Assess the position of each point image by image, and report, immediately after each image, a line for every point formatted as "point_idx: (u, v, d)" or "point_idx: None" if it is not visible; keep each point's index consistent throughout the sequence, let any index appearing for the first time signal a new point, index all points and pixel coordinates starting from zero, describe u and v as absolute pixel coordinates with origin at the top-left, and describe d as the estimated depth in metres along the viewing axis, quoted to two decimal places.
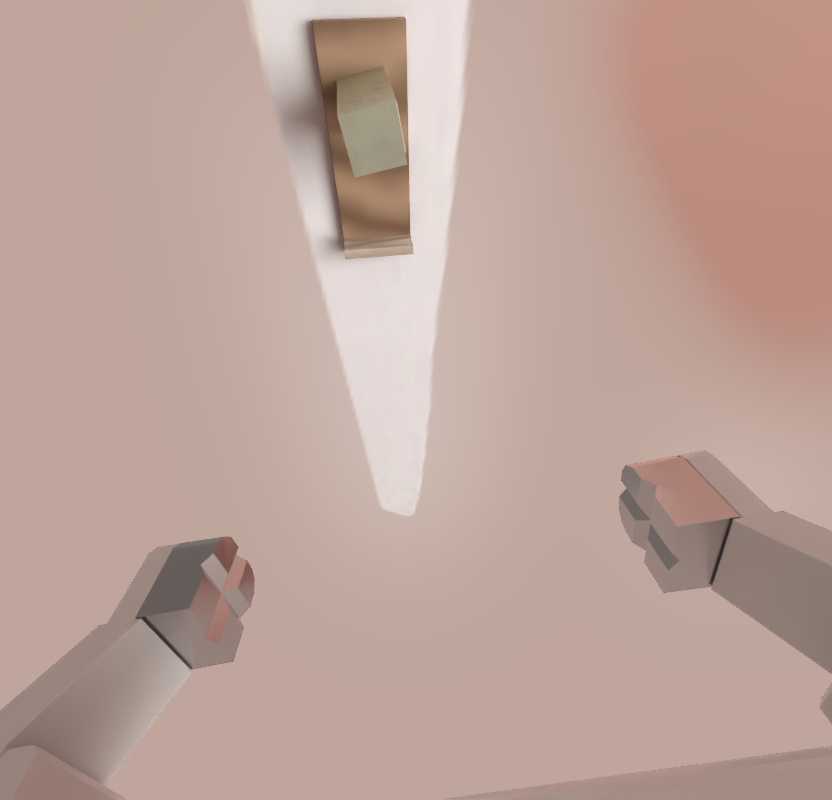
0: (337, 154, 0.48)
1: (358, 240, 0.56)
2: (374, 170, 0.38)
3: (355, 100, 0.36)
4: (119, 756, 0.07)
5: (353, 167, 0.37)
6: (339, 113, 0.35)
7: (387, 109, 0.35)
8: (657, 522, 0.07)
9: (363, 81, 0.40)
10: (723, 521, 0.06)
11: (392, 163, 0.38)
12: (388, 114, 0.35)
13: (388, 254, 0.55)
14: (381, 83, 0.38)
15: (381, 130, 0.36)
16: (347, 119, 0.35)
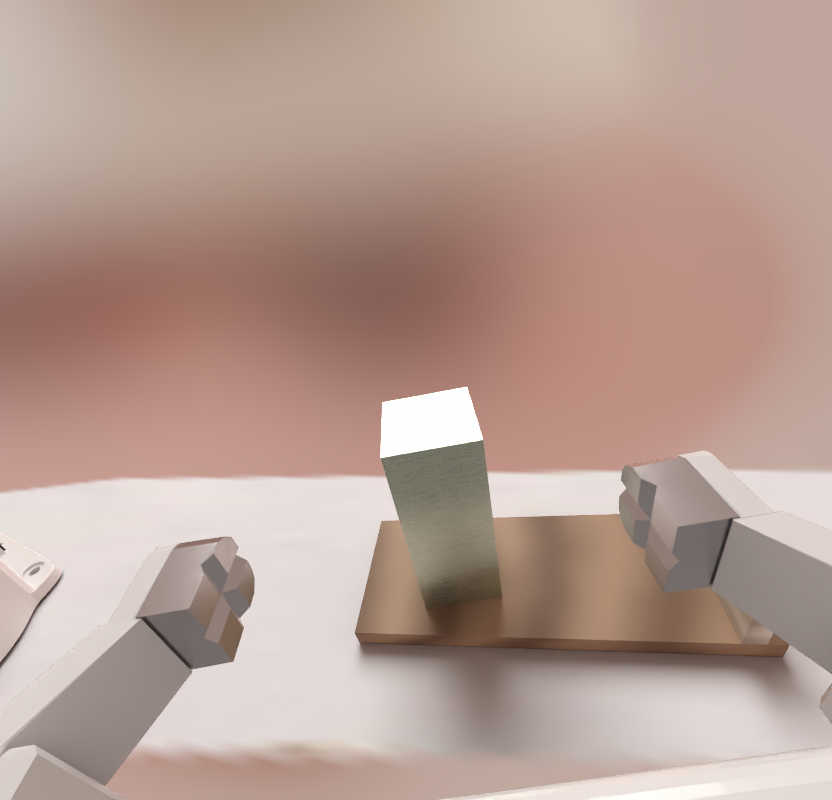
0: (539, 626, 0.25)
1: (726, 602, 0.23)
2: (472, 417, 0.21)
3: None
4: (119, 756, 0.07)
5: (464, 440, 0.20)
6: None
7: (390, 408, 0.24)
8: (656, 522, 0.07)
9: None
10: (723, 521, 0.06)
11: (463, 400, 0.23)
12: (396, 407, 0.24)
13: None
14: None
15: (414, 412, 0.23)
16: (390, 446, 0.21)
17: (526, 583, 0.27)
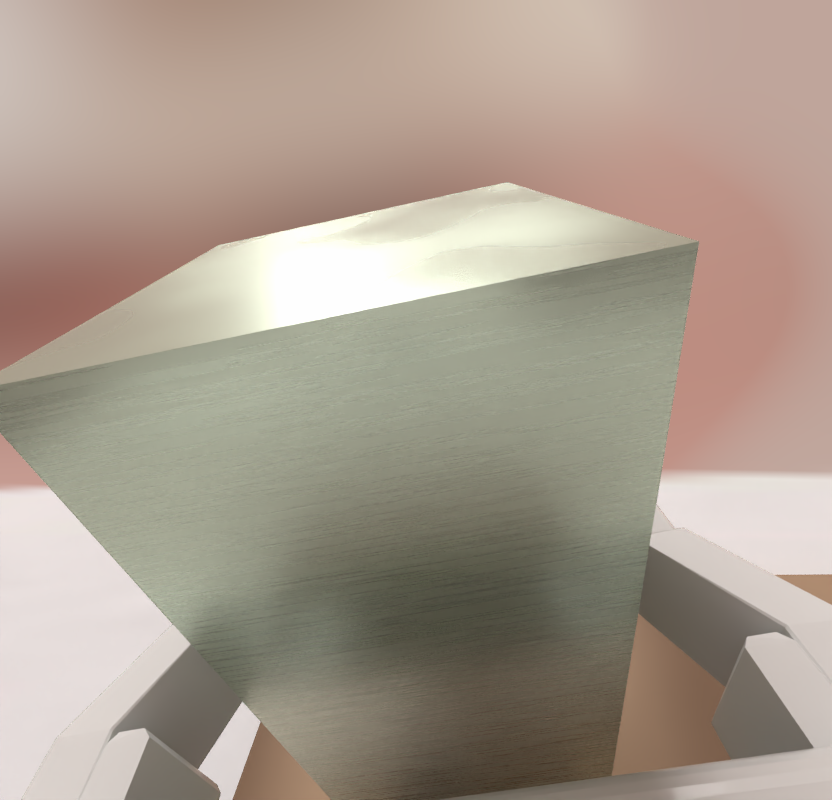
0: None
1: None
2: (560, 209, 0.04)
3: None
4: (206, 744, 0.07)
5: (553, 262, 0.03)
6: None
7: (230, 248, 0.06)
8: None
9: None
10: None
11: (502, 195, 0.06)
12: (253, 244, 0.06)
13: None
14: None
15: (306, 241, 0.06)
16: (92, 336, 0.03)
17: None
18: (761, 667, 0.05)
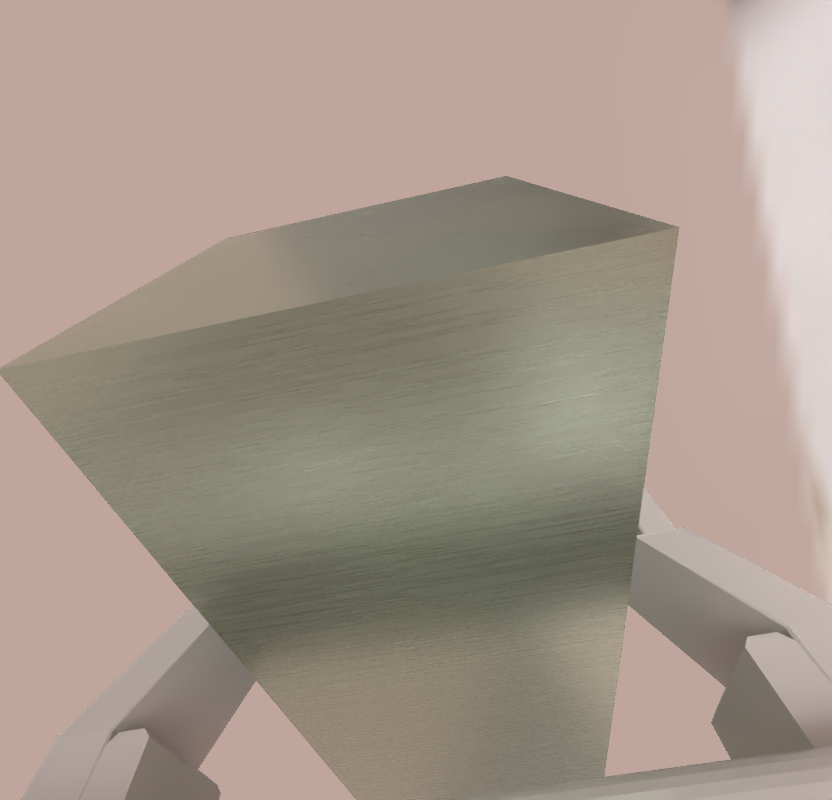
0: None
1: None
2: (555, 200, 0.04)
3: None
4: (206, 743, 0.07)
5: (543, 248, 0.03)
6: None
7: (237, 241, 0.07)
8: None
9: None
10: None
11: (500, 188, 0.06)
12: (259, 236, 0.07)
13: None
14: None
15: (310, 233, 0.06)
16: (111, 320, 0.04)
17: None
18: (761, 667, 0.05)
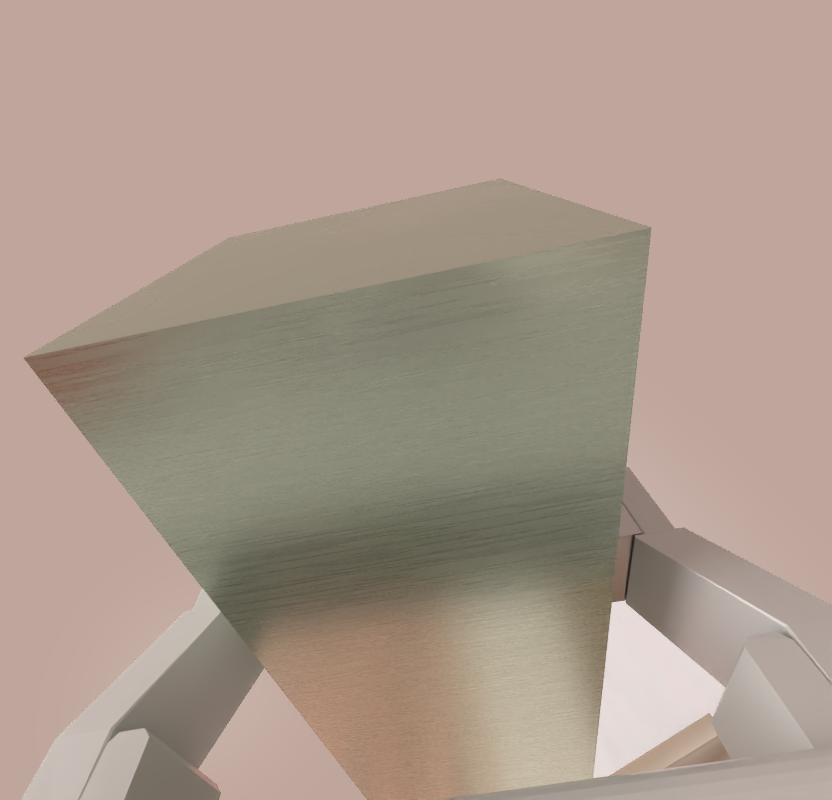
0: None
1: None
2: (543, 202, 0.05)
3: None
4: (206, 744, 0.07)
5: (528, 246, 0.03)
6: None
7: (241, 240, 0.07)
8: None
9: None
10: (626, 537, 0.07)
11: (493, 190, 0.06)
12: (262, 236, 0.07)
13: (629, 767, 0.25)
14: None
15: (312, 232, 0.06)
16: (127, 313, 0.04)
17: None
18: (761, 667, 0.05)
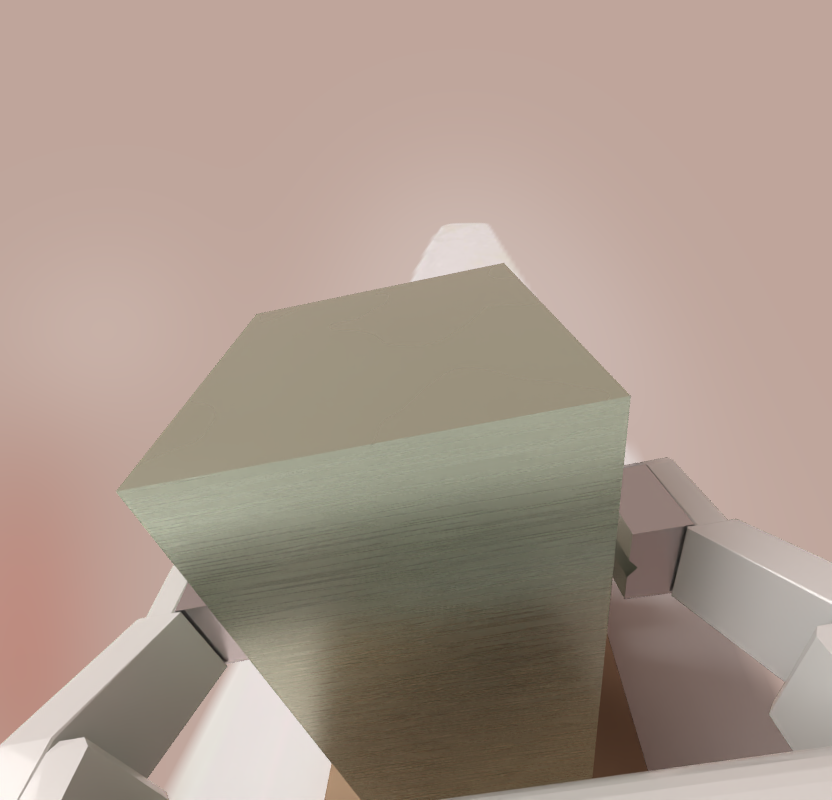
0: None
1: None
2: (543, 324, 0.05)
3: None
4: (158, 751, 0.07)
5: (531, 404, 0.04)
6: None
7: (269, 323, 0.08)
8: None
9: None
10: (678, 528, 0.06)
11: (499, 287, 0.07)
12: (289, 320, 0.08)
13: None
14: None
15: (336, 326, 0.07)
16: (191, 437, 0.05)
17: None
18: None
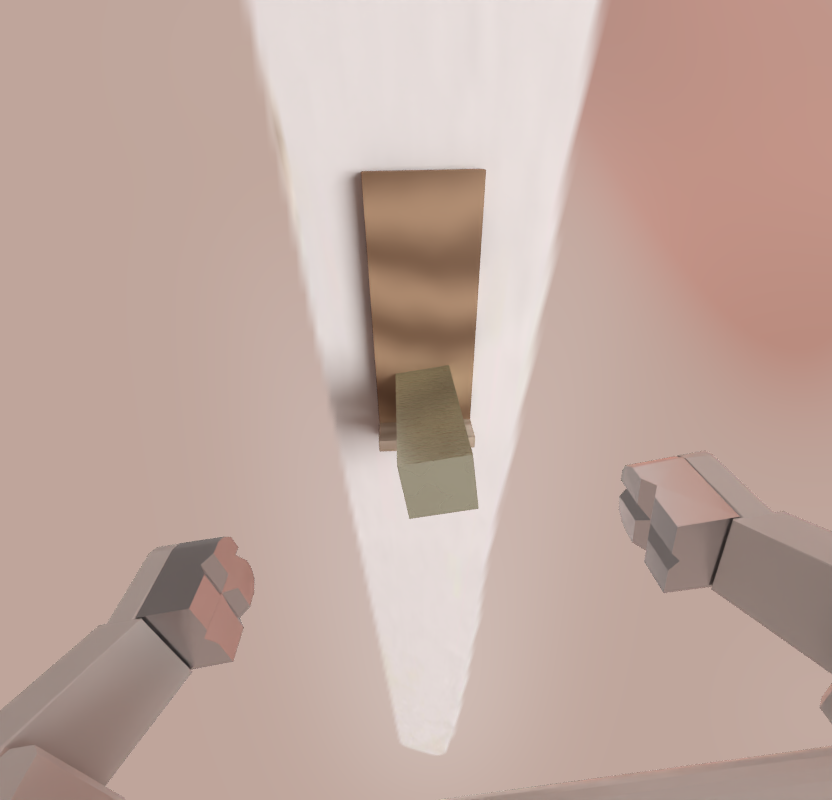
0: (380, 324, 0.36)
1: None
2: (405, 486, 0.28)
3: None
4: (120, 756, 0.07)
5: (410, 466, 0.27)
6: (471, 453, 0.27)
7: (470, 501, 0.29)
8: (657, 522, 0.07)
9: None
10: (723, 521, 0.06)
11: (411, 504, 0.29)
12: (465, 502, 0.29)
13: None
14: None
15: (450, 495, 0.29)
16: (466, 464, 0.27)
17: (412, 317, 0.35)
18: None
